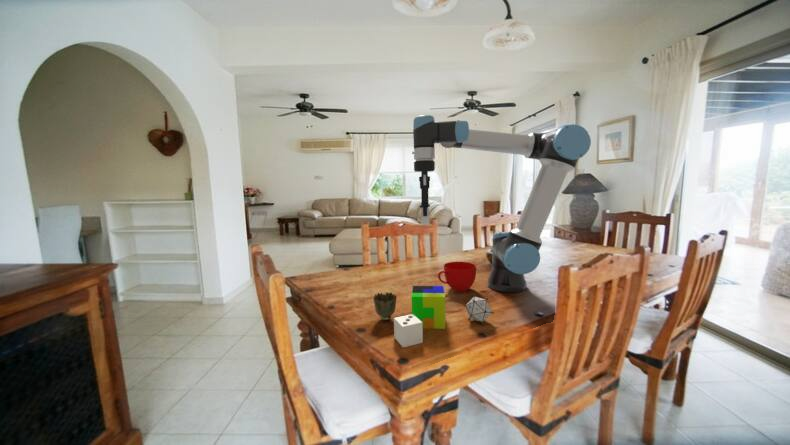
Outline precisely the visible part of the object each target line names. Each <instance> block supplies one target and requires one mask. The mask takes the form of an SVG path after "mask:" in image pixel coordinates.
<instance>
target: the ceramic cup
mask: <svg viewBox="0 0 790 445" xmlns="http://www.w3.org/2000/svg"><path fill="white" fill-rule="evenodd" d="M441 274H444V279H445V281H444V280H442V278H441ZM476 275H477V265H476V264H475V263H471V262H468V261H449V262H446V263H444V264H443V270H441V271H439V272H438V274H437V278H438V280H439V282H441V283H443V284H444V285H445V284H446V285H448V286H449V287H450V288H451V290H452V291H453V292H458V293H462V292H463V293H465V292H467V291H469V289H470V288H471V287H472V286H473V285H474V283H475V281H476Z"/></svg>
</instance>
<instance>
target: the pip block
mask: <svg viewBox="0 0 790 445" xmlns="http://www.w3.org/2000/svg"><path fill="white" fill-rule="evenodd" d="M393 329H394V330H393V331H394V334H393V337H394V339H395V340H396V341H397V342H398V344H400V346H401V347H402V348H407V347H411V346H415V345H417V344H422V343H424V341H423V339H424V337H423V336H424V335H423V333H424V332H423V331H424V329H423V328H422V322H421V321H420V320H419V319H418V318H417V317H416V316H415V315H413V314H412V313H409V314H406V315H402V316H397V317H393Z"/></svg>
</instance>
